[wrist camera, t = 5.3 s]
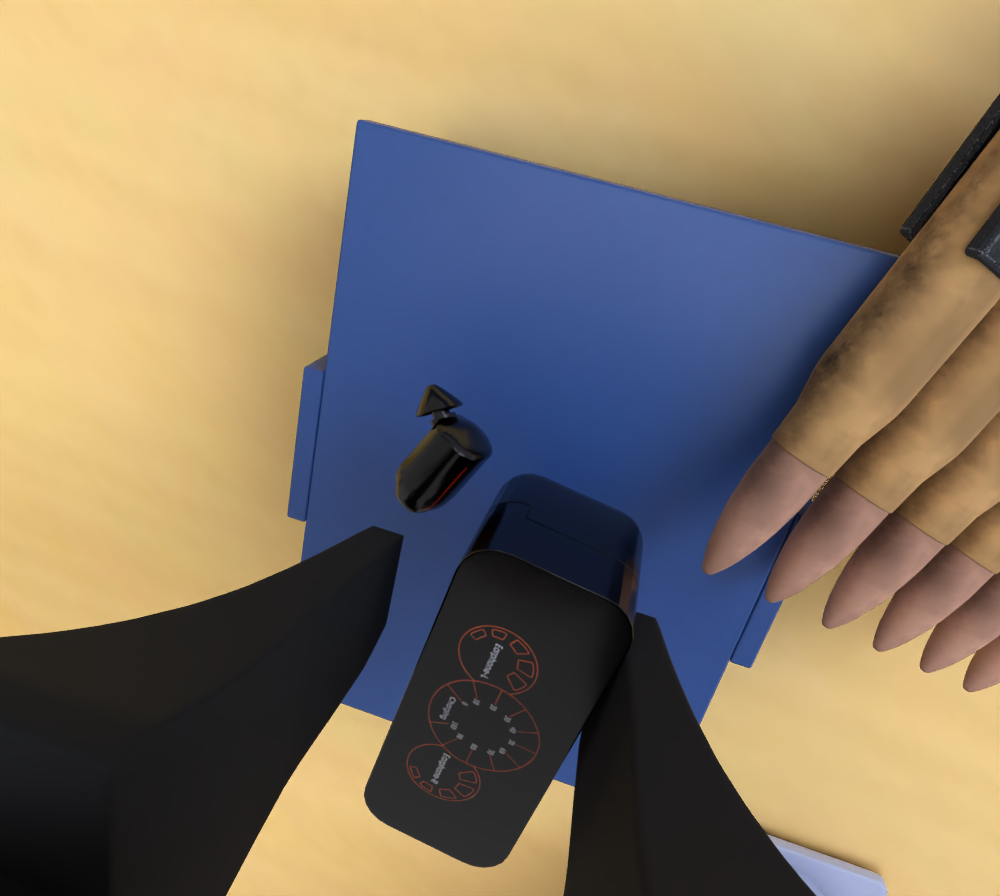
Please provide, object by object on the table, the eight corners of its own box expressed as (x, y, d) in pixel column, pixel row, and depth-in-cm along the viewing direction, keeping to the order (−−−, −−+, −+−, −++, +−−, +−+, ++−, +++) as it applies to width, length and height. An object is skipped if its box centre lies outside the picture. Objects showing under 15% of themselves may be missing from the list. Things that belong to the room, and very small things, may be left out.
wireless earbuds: (676, 478, 13) (674, 574, 10) (530, 744, 16) (494, 879, 13) (438, 372, 13) (367, 435, 10) (339, 653, 16) (264, 764, 13)
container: (677, 703, 23) (677, 824, 19) (338, 588, 24) (267, 678, 20) (878, 239, 17) (942, 268, 13) (411, 121, 18) (331, 112, 14)
